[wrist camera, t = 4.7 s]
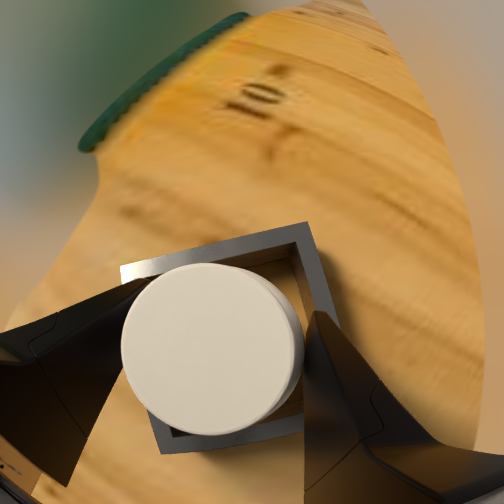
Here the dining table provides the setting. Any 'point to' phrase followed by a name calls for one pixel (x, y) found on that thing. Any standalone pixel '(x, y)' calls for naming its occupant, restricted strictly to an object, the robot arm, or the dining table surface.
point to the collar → (243, 256)
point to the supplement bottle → (212, 348)
